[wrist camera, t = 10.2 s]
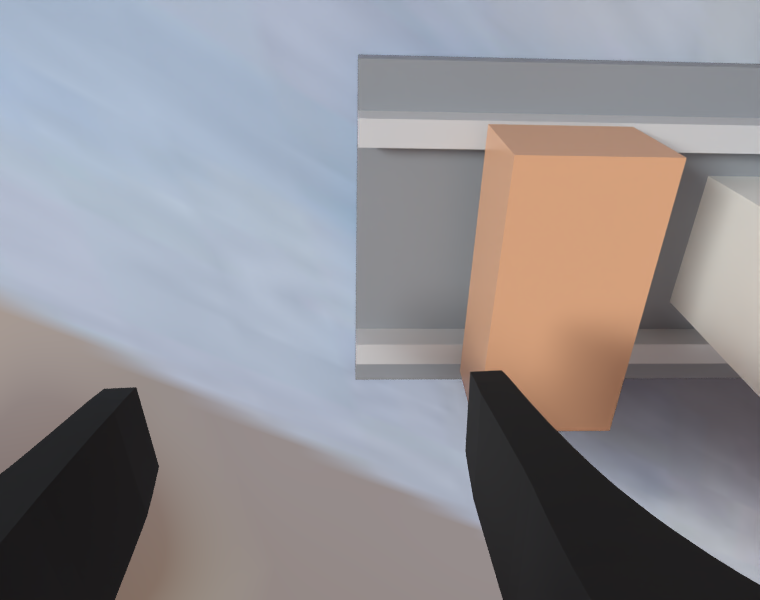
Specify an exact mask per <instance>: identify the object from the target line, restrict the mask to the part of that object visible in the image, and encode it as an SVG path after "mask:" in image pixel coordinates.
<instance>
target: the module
mask: <svg viewBox="0 0 760 600" xmlns="http://www.w3.org/2000/svg"><path fill="white" fill-rule="evenodd" d="M670 303H671V304H672V305H673V306H674V307H675V308H676V309H677V310H678V311H679V312H680V313H681V314H682V315H683V316H684V317H685V319H686V320H687V321H688V322H689V323H690V324H691V325H692V326H693V327H694V328H695V329H696V330H697V331H698V332H699V333H700V334H701V335H702V337H703V338H704V339H705V340H706V341H707V342H708V343H709V344H710V345H711V346H712V347H713V348H714V349H715V350H716V351H717V352H718V354H719V355H720V356H721V357H722V358H723V359H724V360H725V361H726V362H727V363H728V364H729V365H730V366H731V367H732V368H733V369H734V371H735V372H736V373H737V374H738V375H739V376H740V377H741V378H742V379H743V380H744V381H745V382H746V383H747V384H748V385H749V386H750V387H751V389H752V390H753V391H754V392H755V393H756V394H757V395H758V396H759V397H760V177H746V176H708V178H707V182H706V185H705V188H704V191H703V195H702V198H701V201H700V205H699V208H698V211H697V214H696V218H695V221H694V224H693V227H692V231H691V234H690V237H689V240H688V244H687V247H686V250H685V253H684V257H683V260H682V263H681V266H680V270H679V273H678V276H677V279H676V283H675V286H674V289H673V292H672V296H671V299H670Z"/></svg>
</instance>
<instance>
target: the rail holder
mask: <svg viewBox="0 0 760 600" xmlns="http://www.w3.org/2000/svg"><path fill="white" fill-rule="evenodd" d="M488 124H511V125H566V126H621V127H634V128H636V129H638V130H640V131H641V132H643V133H645V134H646V135H648V136H650V137H652V138H653V139H655V140H657V141H659V142H660V143H662V144H664V145H665V146H667V147H669V148H671V149H672V150H674V151H676V152H678V153H679V154H681V155H683V156H684V157H686V162H685V166H684V169H683V173H682V176H681V180H680V183H679V187H678V190H677V194H676V197H675V201H674V204H673V208H672V211H671V215H670V219H669V222H668V226H667V229H666V233H665V236H664V240H663V243H662V247H661V250H660V254H659V257H658V261H657V265H656V268H655V272H654V275H653V279H652V282H651V286H650V289H649V293H648V296H647V300H646V303H645V307H644V311H643V314H642V318H641V321H640V325H639V328H638V332H637V335H636V339H635V342H634V346H633V349H632V353H631V356H630V360H629V364H628V367H627V371H626V374H625V378H624V379H672V378H741V377H740V376H739V375H738V374H737V373H736V372H735V371H734V369H733V368H732V367H731V366H730V365H729V364H728V363H727V362H726V361H725V360H724V359H723V358H722V357H721V356H720V355H719V354H718V352H717V351H716V350H715V349H714V348H713V347H712V346H711V345H710V344H709V343H708V342H707V341H706V340H705V339H704V338H703V337H702V335H701V334H700V333H699V332H698V331H697V330H696V329H695V328H694V327H693V326H692V325H691V324H690V323H689V322H688V321H687V320H686V319H685V317H684V316H683V315H682V314H681V313H680V312H679V311H678V310H677V309H676V308H675V307H674V306H673V305H672V304H671V303H670V299H671V296H672V292H673V289H674V286H675V283H676V279H677V276H678V273H679V270H680V266H681V263H682V260H683V257H684V253H685V250H686V247H687V244H688V240H689V237H690V234H691V231H692V227H693V224H694V221H695V218H696V214H697V211H698V208H699V205H700V201H701V198H702V195H703V191H704V188H705V185H706V182H707V178H708V176H746V177H760V64H733V63H691V62H649V61H607V60H565V59H523V58H481V57H439V56H396V55H358V129H357V245H356V361H355V372H356V380H368V379H462V377H461V373H460V366H461V357H462V348H463V340H464V331H465V322H466V313H467V305H468V296H469V287H470V278H471V270H472V261H473V252H474V243H475V235H476V226H477V217H478V208H479V200H480V191H481V182H482V173H483V165H484V156H485V147H486V138H487V130H488Z"/></svg>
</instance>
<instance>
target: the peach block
mask: <svg viewBox="0 0 760 600" xmlns="http://www.w3.org/2000/svg"><path fill="white" fill-rule="evenodd" d="M685 162H686V157H684V156H683V155H681V154H679V153H678V152H676V151H674V150H672V149H671V148H669V147H667V146H665V145H664V144H662V143H660V142H659V141H657V140H655V139H653V138H652V137H650V136H648V135H646V134H645V133H643V132H641V131H640V130H638V129H636V128H634V127H621V126H566V125H511V124H488V130H487V138H486V147H485V156H484V165H483V173H482V182H481V191H480V200H479V208H478V217H477V226H476V235H475V243H474V252H473V261H472V270H471V278H470V287H469V296H468V305H467V313H466V322H465V331H464V340H463V348H462V357H461V366H460V373H461V377H462V381H463V384H464V388H465V392H466V396H467V399H468V400H469V383H470V372H475V371H496V370H502V371H503V372H504V373H505V374H506V375H507V376H508V377H509V378H510V379H511V381H512V382H513V383H514V384H515V385H516V386H517V388H518V389H519V390H520V391H521V392H522V393H523V394H524V396H525V397H526V398H527V399H528V400H529V401H530V402H531V403H532V405H533V406H534V407H535V408H536V409H537V410H538V411H539V412H540V413H541V415H542V416H543V417H544V418H545V419H546V420H547V421H548V422H549V423H550V424H551V425H552V426H553V427H554V428H555V429H556V430H557V431H610V427H611V424H612V420H613V417H614V413H615V410H616V406H617V402H618V399H619V395H620V392H621V388H622V385H623V381H624V378H625V374H626V371H627V367H628V364H629V360H630V356H631V353H632V349H633V346H634V342H635V339H636V335H637V332H638V328H639V325H640V321H641V318H642V314H643V311H644V307H645V303H646V300H647V296H648V293H649V289H650V286H651V282H652V279H653V275H654V272H655V268H656V265H657V261H658V257H659V254H660V250H661V247H662V243H663V240H664V236H665V233H666V229H667V226H668V222H669V219H670V215H671V211H672V208H673V204H674V201H675V197H676V194H677V190H678V187H679V183H680V180H681V176H682V173H683V169H684V166H685Z"/></svg>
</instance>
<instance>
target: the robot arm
mask: <svg viewBox="0 0 760 600" xmlns="http://www.w3.org/2000/svg"><path fill="white" fill-rule="evenodd" d="M466 457H467V464H468V470H469V476H470V482H471V487H472V493H473V499H474V502H475V506H476V509H477V513H478V516H479V520H480V523H481V527H482V530H483V533H484V537H485V540H486V544H487V547H488V550H489V554H490V557H491V561H492V564H493V567H494V570H495V574H496V578H497V581H498V584H499V588H500V591H501V594H502V598H503V600H760V585H759V584H757V583H756V582H754V581H752V580H750V579H749V578H747V577H745V576H744V575H742V574H740V573H738V572H737V571H735V570H734V569H732V568H730V567H729V566H727V565H726V564H724V563H722V562H721V561H719V560H718V559H716V558H714V557H713V556H711V555H710V554H708V553H707V552H705V551H704V550H702V549H701V548H699V547H698V546H696V545H695V544H693V543H692V542H690V541H689V540H687V539H686V538H684V537H683V536H681V535H680V534H678V533H677V532H675V531H674V530H672V529H671V528H670V527H668V526H667V525H666V524H664V523H663V522H661V521H660V520H659V519H657V518H656V517H654V516H653V515H652V514H650V513H649V512H648V511H647V510H645V509H644V508H643V507H641V506H640V505H639V504H638V503H636V502H635V501H634V500H633V499H631V498H630V497H629V496H627V495H626V494H625V493H624V492H622V491H621V490H620V489H619V488H617V487H616V486H615V485H614V484H613V483H612V482H610V481H609V480H608V479H607V478H606V477H605V476H604V475H602V474H601V473H600V472H599V471H598V470H597V469H596V468H595V467H594V466H593V465H591V464H590V463H589V462H588V461H587V460H586V459H585V458H584V457H583V456H582V455H581V454H580V453H579V452H578V451H577V450H576V449H575V448H573V447H572V446H571V445H570V443H569V442H568V441H567V440H566V439H565V438H564V437H563V436H562V435H561V434H560V433H559V432H558V431H557V430H556V429H555V428H554V427H553V426H552V425H551V424H550V423H549V422H548V421H547V420H546V419H545V418H544V417H543V416H542V415H541V413H540V412H539V411H538V410H537V409H536V408H535V407H534V406H533V405H532V403H531V402H530V401H529V400H528V399H527V398H526V397H525V396H524V394H523V393H522V392H521V391H520V390H519V389H518V388H517V386H516V385H515V384H514V383H513V382H512V381H511V379H510V378H509V377H508V376H507V375H506V374H505V373H504V372H503V371H502V370H496V371H475V372H470V383H469V400H468V417H467V434H466ZM158 468H159V465H158V462H157V458H156V455H155V451H154V448H153V444H152V441H151V437H150V434H149V430H148V427H147V423H146V420H145V416H144V413H143V409H142V406H141V402H140V399H139V395H138V392H137V388H113V389H103V390H102V391H101V392H99V393H98V394H97V395H96V396H94V397H93V398H92V399H91V400H89V401H88V402H87V403H86V404H84V405H83V406H82V407H81V408H80V409H78V410H77V411H76V412H75V413H74V414H72V415H71V416H70V417H69V418H68V419H67V420H65V421H64V422H63V423H62V424H61V425H60V426H58V427H57V428H56V429H55V430H54V431H53V432H51V433H50V434H49V435H48V436H46V437H45V438H44V439H43V440H42V441H41V442H39V443H38V444H37V445H36V446H34V447H33V448H32V449H31V450H30V451H28V452H27V453H26V454H25V455H24V456H22V457H21V458H20V459H19V460H18V461H16V462H15V463H14V464H13V465H11V466H10V467H9V468H8V469H6V470H5V471H4V472H2V473H1V474H0V600H115V598H116V595H117V593H118V590H119V587H120V585H121V582H122V580H123V577H124V575H125V572H126V570H127V567H128V565H129V562H130V559H131V557H132V554H133V552H134V549H135V546H136V544H137V541H138V539H139V536H140V533H141V531H142V528H143V525H144V523H145V520H146V517H147V514H148V510H149V506H150V502H151V498H152V494H153V490H154V486H155V481H156V477H157V473H158Z"/></svg>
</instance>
